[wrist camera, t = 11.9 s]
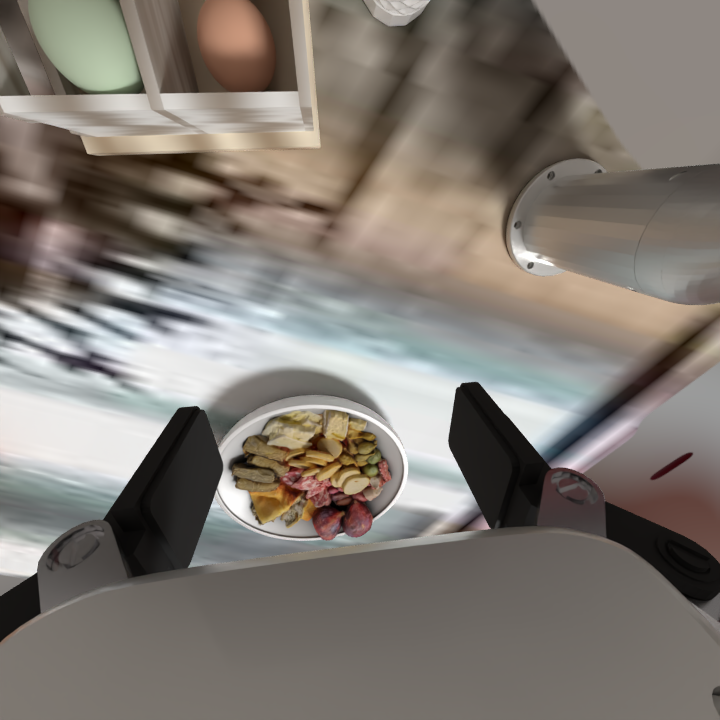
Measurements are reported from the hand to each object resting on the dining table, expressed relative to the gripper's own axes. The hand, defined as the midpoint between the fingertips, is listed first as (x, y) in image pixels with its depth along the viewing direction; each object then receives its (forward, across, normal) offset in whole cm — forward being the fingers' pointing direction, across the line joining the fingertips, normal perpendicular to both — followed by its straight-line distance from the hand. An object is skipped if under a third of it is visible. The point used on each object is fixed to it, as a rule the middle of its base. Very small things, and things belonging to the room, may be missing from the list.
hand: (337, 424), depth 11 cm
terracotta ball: (+24, +5, -18) cm, 30 cm away
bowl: (+29, +5, +31) cm, 43 cm away
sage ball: (+19, +13, -16) cm, 28 cm away
